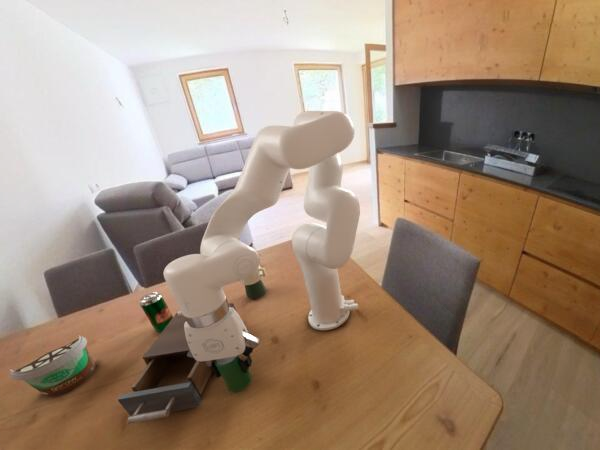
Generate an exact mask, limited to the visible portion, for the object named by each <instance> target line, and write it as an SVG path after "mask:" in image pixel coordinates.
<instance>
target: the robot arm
mask: <svg viewBox="0 0 600 450" xmlns="http://www.w3.org/2000/svg"><path fill="white" fill-rule="evenodd" d="M354 137H355V126H354V123H353V121H352V119H351V118H350V117H349V116H348V115H347V114H345V113H344V112H342V111H339V110H338V111H337V110H305V111H302V112H299V113H298V114H296V115H295V117H294V119H293V124H292V125H277V124H276V125H267V126H264V127H262V128H261V129H260V130H259V131H258V132H257V134H256V135H255V137H254V140H253V141H252V145H251V147H250V149H249V152H248V155H247V157H246V160H245V162H244V165H243V168H242V170H241V172H240V175H239V178H238V180H237V183H236V185H235V187H234V188H233V190H232V191H231V192H230V193H229V194H228V195H227V196H226V198H225V199H224V200H223V201H222V202H221V203H220V205H218V207H217V208H216V209H215V210H214V212H213V214H212V216H211V217H210V219H209V221H208V224H207V226H206V229H205V231H204V234H203V236H202V239H201V242H200V249H199V253H191V254H187V255H184V256H180V257H178V258H176V259H174V260H172V261H171V262H169V263H167V265H166V266H165V267H164V270H163V273H162V274H163V278H164V280H165V282H166V284H167V287H168V288H169V290H170V292H171V294H172V296H173V298H174V300H175V302H176V304H177V306H178V308H179V310H177V312H178V316H179V317H180V316H183V317H184V318H185V320H186V322H185V324H184V330H185V336H186V340H187V343H188V346H189V348H190V351H189V352H188V354H187V356H188V357H191V358H195V360H197V361H201V362H204V363H205V364H206V366H210V367H211V369H212V371H213V372H212V373H213V375H214V376H215V378H216V379H218V378H221V375H220V373H219V371H218V369H217V367H216V365H215V360H216V359H222V358H228V357H233V356H238V357H239V358H240V362H239V363H240V365H241V367H242V370H243V372H244V373H247V372H248V370H249V371H250V367H252V364H253V359H252V357H251V353H253V351H254V350H255V349H256V348H258V346H259V345H260V343H261V339H260V338H258V337H256V336H255V335H252V334H250V333H249V331H248V329H247V326H246V324H245V323H244V321H243V319H242V318H241V316H240V314H239V313H238V312H236V311H237V309H236V308H235V309H236V310H235V309H234V308H233V307H230V306H229V301H228V299H227V296H226V294H225V291H224V289H223V287H224V286H227V285H230V284H234V283H237V282H240V280H243V279H245V278H247V277H249V276H251V275H252V274H253V273H255V272H256V270H257V269H258V267H259V265H260V264H261V257H260V254H259V253H258V252H257V251H256V249H254V248H253V247H251V246H249V245H248V244H246V243H244V242H243V241H241V240H240V239H241V236H242V233H243V232H244V231H243V230H244V228H245V227H246V225H247V224H248V222H249V220H250V219H251V218H252V217H253V216H255V215H256V214H258V213H259V212H261V211H264V210H266V209H269V208H271V207H273V206H275V205H276V204H277V203H278V201H279V199H280V196H281V194H282V191H283V188H284V186H285V184H286V180H287V178H288V175H289V172H290V170H291V169H293V170H305V169H308V175H307V182H306V186H305V187H306V188H305V193H304V198H303V210H304V212H305V214H306V215H308V216H309V217H310V218H313V219H315V220H318V221H321V222H324V223H325V224H326V226H325V225H322V224H319V223H317V222H316V223H315V222H305V223H302V224H300V225H299V226H297V227H296V228H295V230H294V231H293V233H292V237H291V246H292V249H293V253H294V255H295V257H296V259H297V261H298V264H299V266H300V269H301V273H302V277H303V282H304V285H305V289H306V293H307V297H308V301H309V306H310V311H309V312H308V315H307V319H308V324H309V325H310V327H311V328H313V329H314V330H318V331H330V330H334V329H337V328H338V327H340V326H341V325H343V324H344V323H345V322H346V321H347V319H348V318H349V317H350V312H351V311H359V304H358V303H355V299H349V300H347V299H345V295H342V290H341V284H340V279H339V272H338V271H339V270H338V269H341V268H343V267H344V266H346V264H347V263H348V262H349V261H350V259H351V256H352V254H353V250H354V247H355V246H354V245H355V241H356V235H357V231H358V226H359V221H360V215H361V205H360V202H359V199H358V197H357V195H356V194H355V193H354V192H352V191H351V190H348V189H346V188H341V187H342V178H343V172H344V171H343V170H344V169H343V168H344V165H343V160H342V156H341V154H340V153H341V152H343V151H345V150H346V149H347V148H348V147H350V145H351V144H352V142H353V140H354ZM260 266H261V265H260Z"/></svg>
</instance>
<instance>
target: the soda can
mask: <svg viewBox="0 0 600 450" xmlns="http://www.w3.org/2000/svg"><path fill="white" fill-rule="evenodd" d="M139 306H140V307H141V309H142V311H143V312H144V314H145V316H146V318H147V319H148V321H149V323H150V324H151V326H152V328H153V330H155V332H156V333H162V331H163V330H164V329H165V328H166V326H167V325H168V324H169V322H170V321H171V320H172V318H173V317H174V315H173V313H172V312H171V310H170V308H169V307H168V306H169V305H168V304H167V303H166V300H165V299H164V297H163V296H162V294H160V293H159V292H158V291H153V292H149V293H147V294H145V295H144V296H142V297H141V298H140V299H139Z"/></svg>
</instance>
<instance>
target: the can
mask: <svg viewBox="0 0 600 450" xmlns="http://www.w3.org/2000/svg"><path fill="white" fill-rule="evenodd" d="M239 362H240V358H239V357H238V356H233V357H228V358H222V359H216V360H215V365H216V367H217V369H218V371H219V373H220V375H221V376H220V378H221V379H222V381H223V382H224V385H225V386H226V389H227V391H228V392H230V393H238V392H240V391H243V390H245V388H246V387H247V386H248V385H249V384H250V383H251V381H252V374H251V371H250V369H249V370H248V372H247V373H244V372H243V370H242V367H241V365H240V363H239Z"/></svg>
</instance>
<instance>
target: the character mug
mask: <svg viewBox="0 0 600 450" xmlns="http://www.w3.org/2000/svg"><path fill="white" fill-rule="evenodd" d="M266 276H267V272H266V269H265V267H261V265H259V267H258V269H257V270H256V272H255V273H253V274H252V275H251V276H249V277H247V278H245V279H243V280H240V281H239V283H240V284H241V285H242V286H244V290H245V294H246V298H247V299H249V300H256V299H259V298H261V297H263V296H264V295H265V294H266V292H267V288H266V286H265V285H264V283H263V281H262V277H266Z"/></svg>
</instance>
